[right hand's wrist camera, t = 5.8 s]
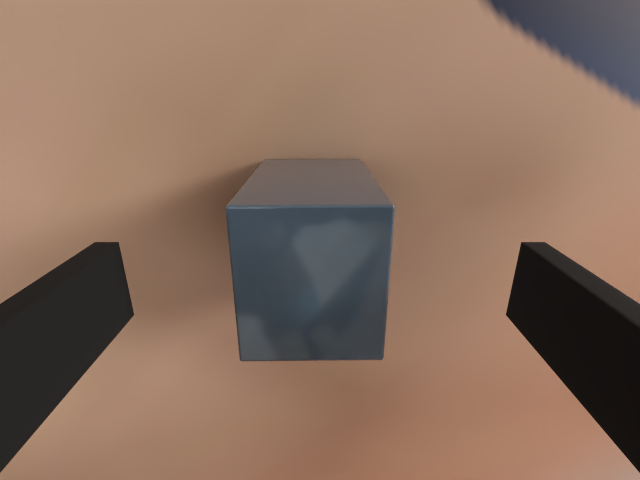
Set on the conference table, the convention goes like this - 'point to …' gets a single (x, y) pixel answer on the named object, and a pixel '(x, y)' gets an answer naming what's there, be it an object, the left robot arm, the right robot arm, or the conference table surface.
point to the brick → (310, 261)
